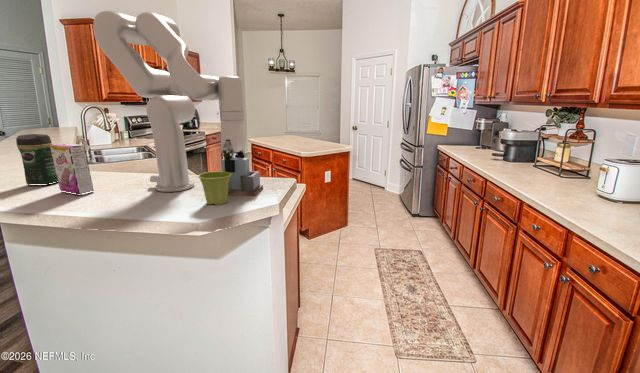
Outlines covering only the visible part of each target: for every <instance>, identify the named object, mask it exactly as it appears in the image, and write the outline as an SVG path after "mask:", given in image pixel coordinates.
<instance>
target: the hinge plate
mask: <svg viewBox="0 0 640 373" xmlns="http://www.w3.org/2000/svg"><path fill="white" fill-rule="evenodd" d="M262 190H264V184H260V186H259V187H258V188H257V189H256V190H255V191H241V190H234V189H228V196H251V197H252V196H253V197H255V196H257V195H259V193H260V192H261V191H262Z"/></svg>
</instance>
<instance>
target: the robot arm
mask: <svg viewBox="0 0 640 373" xmlns="http://www.w3.org/2000/svg"><path fill="white" fill-rule="evenodd" d="M92 26H93V28H92V29H93V35H94V38H95V41H96V43H97V44H98V47H99V49H100V50H101V51H102V52H103V53H104V55H105V56H106V57H107V58H108V60H110V62H111V63H112V64H113V65H114V67H115V68H116V69H117V70H118V72H119V73H120V74H121V76H122V77H123V79H124V80H125V81H126V83H127V84H128V85H129V86H130V88H131V89H132V90H133V91H134V92H135V94H136V95H138V97H139V96H140V97H141V98H146V99H147V98H148V99H149V100H148V102H147V104H146V107H145V108H146V109H145V110H146V115H147V116H146V117H147V119H148V121H149V124H150V127H151V131H152V132H151V133H152V137H153V144H154V150H155V157H156V165H157V171H158V175H151V176H150V178H149V182H150V183H156V185H155V190H156V191H158V192H163V193H164V192H165V193H172V192H181V191H186V190H189V189H191V188H194V187H195V182H194V181H192V180H190V176H189V168H188V160H187V151H186V142H185V136H184V133H183V130H182V127H181V126H180V124H183V123H187V122H190V121H192V120H193V118H194V117H195V115H196V107H195V104H194V102H193V100H195V101H218V103H219V104H218V107H219V120H220V121H219V122H220V152H221V153H222V156H223V159H224V163H225V172H229V173H234V172H235V160H233V159H234V158H246V157H245V132H244V122H245V107H244V106H245V105H244V90H243V89H244V88H243V79H242V78H241V77H239V76H233V75H224V76H223V75H222V76H219V77H218V76H211V75H205V74H204V75H203V74H200V73H199V72H198V71H196V70H195V69H194V67H192V65H191V64H190V63H189V61H187V59H186V58H187V57H188V54H189V47H188V46H187V44H186V43H185V42H184V40H182V39H181V38H180V37H181V33H180V28H179V27H178V25H177V23H175V21H174V20H172V19H171V18H169V17H166V16H163V15H160V14H157V13H155V12H151V11H145V12H141V13H139V14H138V15H137V16H131V15H128V14H126V13H121V12H118V11H115V10H104V11H100V12H98V13H97V14H96V15H95V17H94V20H93V25H92ZM130 44H131V45H137V46H150V48H151V49H153V51H155V53H156V54H157V55H158V56H159V57H160V58H161V60H163V61H164V62H165V63H166V68H167V71H166V70H162V69H155V68H153V67H151V66H149V65H148V63H147V62H146V61H145V60H144V58H143V56H141V55H140V53H139V52H138V51H137V50H136V49H135V48H133V47H132V46H131V45H130Z"/></svg>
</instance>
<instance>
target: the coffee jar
mask: <svg viewBox="0 0 640 373" xmlns="http://www.w3.org/2000/svg"><path fill="white" fill-rule="evenodd" d="M15 141H16V147H17V149H18V151H19V152H20V157H21V161H22V166H23V169H24V176H25V182H26V185H27V184H49V183H53V182H57V181H58V179H57V174H56V170H55V166H54V162H53V158H52V153H51V149H50V145H52V144H53V143H52V139H51V137H50V136H49V135H48V134H41V133H40V134H39V133H29V134H21V135H17V137H16V138H15Z"/></svg>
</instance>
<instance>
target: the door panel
mask: <svg viewBox="0 0 640 373" xmlns="http://www.w3.org/2000/svg"><path fill="white" fill-rule="evenodd" d="M233 160H235V172H234V173H231V176H230V180H229V187H228V189H234V190H241V180H240V176H250V171H251V170H250V157H245V158H235V157H234V159H233ZM220 161H221V171H223V172H225V163H224V158H223V159H221V160H220Z"/></svg>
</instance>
